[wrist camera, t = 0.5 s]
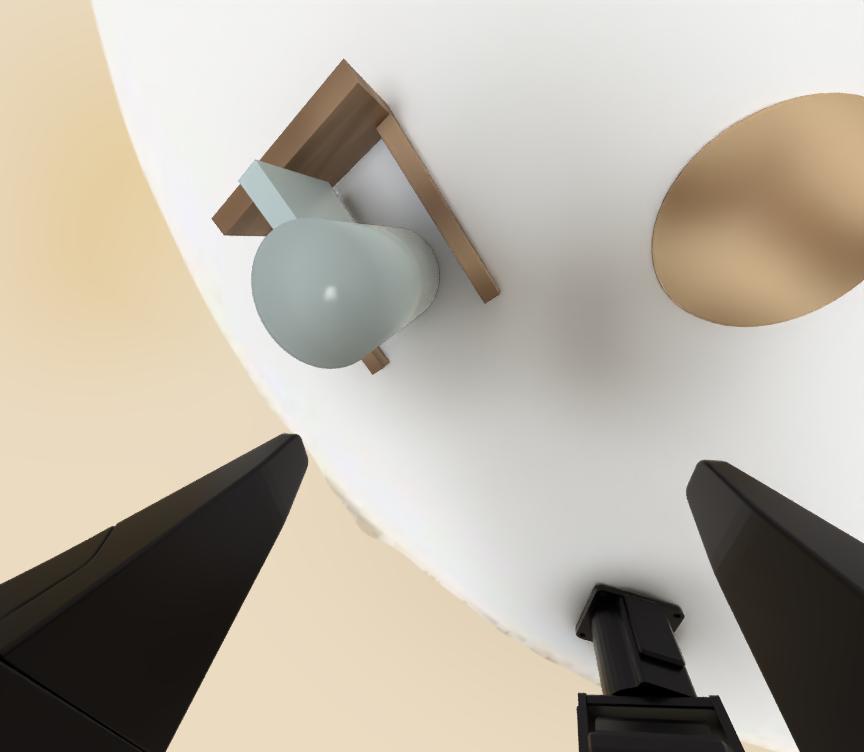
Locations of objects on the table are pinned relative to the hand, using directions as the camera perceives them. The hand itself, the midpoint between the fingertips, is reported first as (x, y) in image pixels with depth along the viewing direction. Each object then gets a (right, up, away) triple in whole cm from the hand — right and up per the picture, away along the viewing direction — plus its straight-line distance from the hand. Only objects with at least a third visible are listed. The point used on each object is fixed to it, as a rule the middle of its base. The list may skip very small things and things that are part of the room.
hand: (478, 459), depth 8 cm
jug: (-4, +10, +14) cm, 17 cm away
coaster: (+15, +9, +8) cm, 20 cm away
